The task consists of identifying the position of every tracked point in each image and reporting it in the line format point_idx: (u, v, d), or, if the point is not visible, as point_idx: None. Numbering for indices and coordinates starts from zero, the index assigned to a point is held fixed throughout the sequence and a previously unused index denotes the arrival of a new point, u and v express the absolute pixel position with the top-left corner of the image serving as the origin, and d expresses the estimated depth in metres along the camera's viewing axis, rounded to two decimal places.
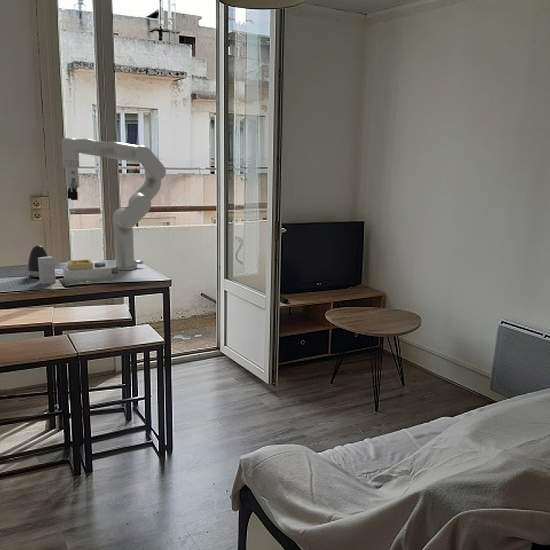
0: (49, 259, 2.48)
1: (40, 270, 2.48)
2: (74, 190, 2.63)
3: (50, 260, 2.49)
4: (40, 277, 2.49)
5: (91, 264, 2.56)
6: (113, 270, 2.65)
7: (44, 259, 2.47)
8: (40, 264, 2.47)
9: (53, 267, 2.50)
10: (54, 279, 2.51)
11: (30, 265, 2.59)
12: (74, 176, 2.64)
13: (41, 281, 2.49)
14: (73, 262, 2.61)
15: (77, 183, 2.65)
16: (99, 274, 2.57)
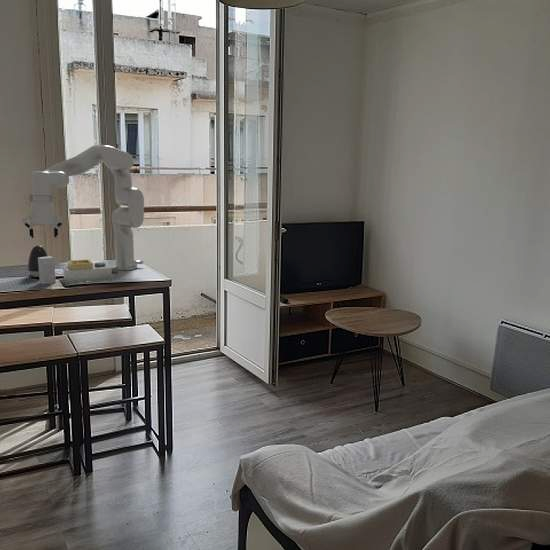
0: (49, 259, 2.48)
1: (40, 270, 2.48)
2: None
3: (50, 260, 2.49)
4: (40, 277, 2.49)
5: (91, 264, 2.56)
6: (113, 270, 2.65)
7: (44, 259, 2.47)
8: (40, 264, 2.47)
9: (53, 267, 2.50)
10: (54, 279, 2.51)
11: (30, 265, 2.59)
12: None
13: (41, 281, 2.49)
14: (73, 262, 2.61)
15: None
16: (99, 274, 2.57)
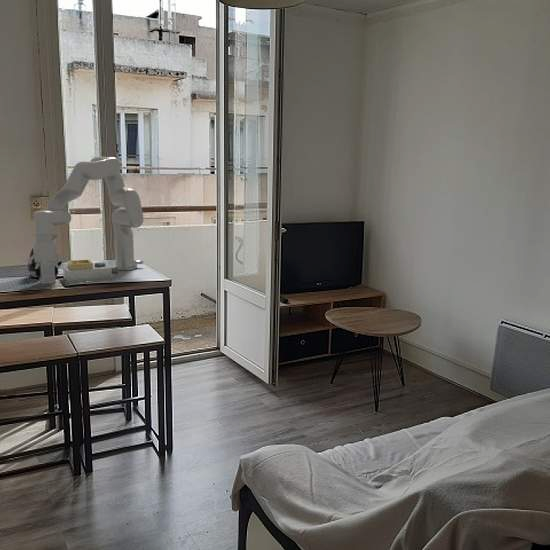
0: None
1: (40, 270, 2.48)
2: None
3: None
4: (40, 277, 2.49)
5: (91, 264, 2.56)
6: (113, 270, 2.65)
7: (44, 259, 2.47)
8: (40, 264, 2.47)
9: (53, 267, 2.50)
10: (54, 279, 2.51)
11: (30, 265, 2.59)
12: None
13: (41, 281, 2.49)
14: (73, 262, 2.61)
15: None
16: (99, 274, 2.57)
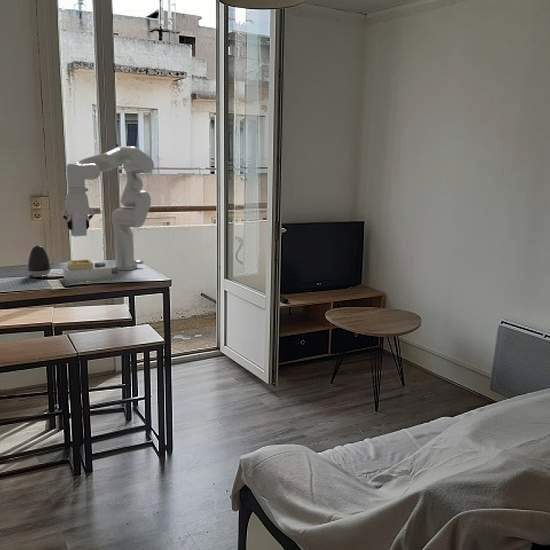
0: None
1: (72, 222, 2.52)
2: None
3: None
4: (72, 230, 2.54)
5: (91, 264, 2.56)
6: (113, 270, 2.65)
7: (76, 211, 2.51)
8: (72, 216, 2.51)
9: (84, 220, 2.55)
10: (85, 232, 2.56)
11: (30, 265, 2.59)
12: (88, 203, 2.56)
13: (73, 233, 2.53)
14: (73, 262, 2.61)
15: None
16: (99, 274, 2.57)
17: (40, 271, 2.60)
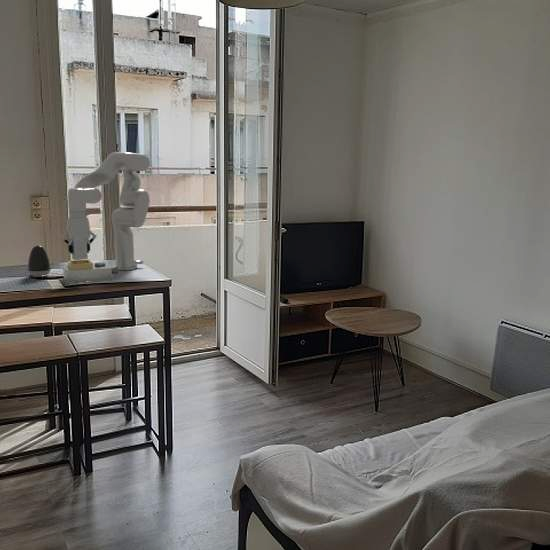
0: None
1: (73, 246, 2.55)
2: None
3: None
4: (73, 253, 2.56)
5: (91, 264, 2.56)
6: (113, 270, 2.65)
7: (77, 235, 2.53)
8: (73, 240, 2.54)
9: (85, 244, 2.57)
10: (86, 255, 2.58)
11: (30, 265, 2.59)
12: None
13: (74, 257, 2.56)
14: (73, 262, 2.61)
15: None
16: (99, 274, 2.57)
17: (40, 271, 2.60)
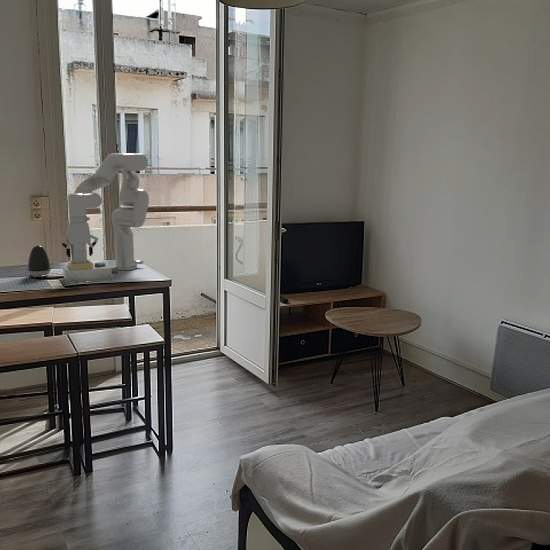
0: (81, 244, 2.56)
1: (73, 254, 2.56)
2: None
3: (82, 244, 2.56)
4: (73, 261, 2.57)
5: (91, 264, 2.56)
6: (113, 270, 2.65)
7: (77, 244, 2.54)
8: (73, 248, 2.54)
9: (85, 252, 2.57)
10: None
11: (30, 265, 2.59)
12: None
13: None
14: None
15: None
16: (99, 274, 2.57)
17: (40, 271, 2.60)
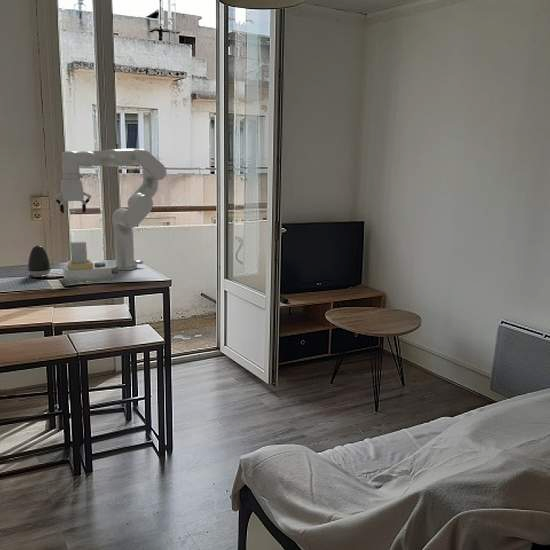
0: (81, 244, 2.56)
1: (73, 254, 2.56)
2: None
3: (82, 244, 2.56)
4: (72, 261, 2.57)
5: (91, 264, 2.56)
6: (113, 270, 2.65)
7: (77, 244, 2.54)
8: (73, 248, 2.54)
9: (85, 252, 2.57)
10: None
11: (30, 265, 2.59)
12: None
13: None
14: None
15: None
16: (99, 274, 2.57)
17: (40, 271, 2.60)
